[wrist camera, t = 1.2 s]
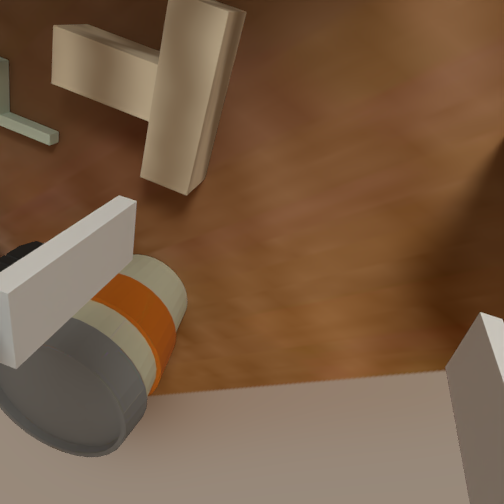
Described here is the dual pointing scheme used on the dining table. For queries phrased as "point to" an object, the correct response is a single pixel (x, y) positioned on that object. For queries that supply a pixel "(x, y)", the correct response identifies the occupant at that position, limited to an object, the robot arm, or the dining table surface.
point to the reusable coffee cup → (99, 363)
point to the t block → (160, 82)
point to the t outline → (16, 123)
